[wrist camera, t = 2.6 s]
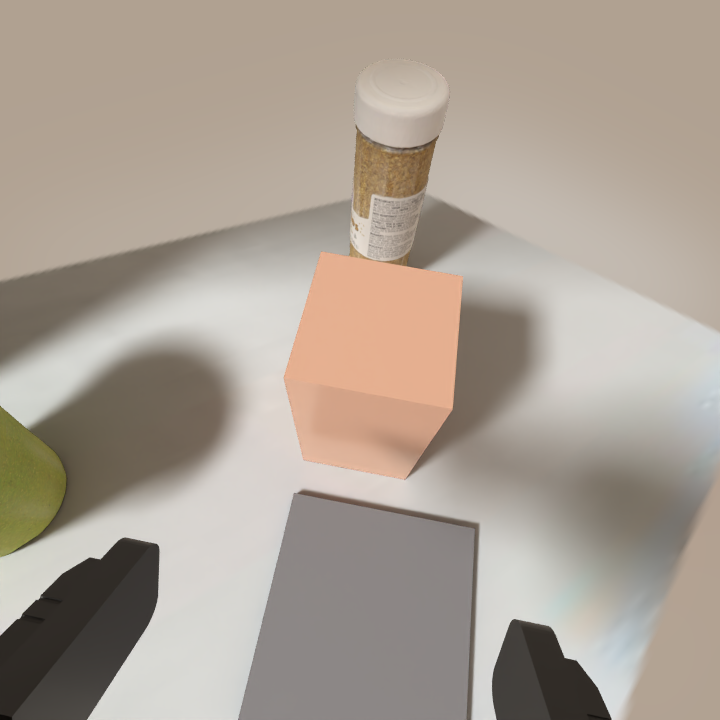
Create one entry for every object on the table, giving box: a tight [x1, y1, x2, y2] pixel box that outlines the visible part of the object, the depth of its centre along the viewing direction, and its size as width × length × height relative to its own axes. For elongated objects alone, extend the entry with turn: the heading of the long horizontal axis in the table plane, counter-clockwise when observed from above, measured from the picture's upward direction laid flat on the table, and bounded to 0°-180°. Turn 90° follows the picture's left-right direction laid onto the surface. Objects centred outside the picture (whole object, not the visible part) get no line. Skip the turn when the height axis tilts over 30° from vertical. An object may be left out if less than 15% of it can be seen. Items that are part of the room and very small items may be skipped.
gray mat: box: [238, 493, 475, 720], centre depth 21 cm, size 10×10×1 cm
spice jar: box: [350, 59, 450, 266], centre depth 26 cm, size 5×4×13 cm
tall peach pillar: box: [284, 252, 463, 479], centre depth 21 cm, size 6×6×11 cm
